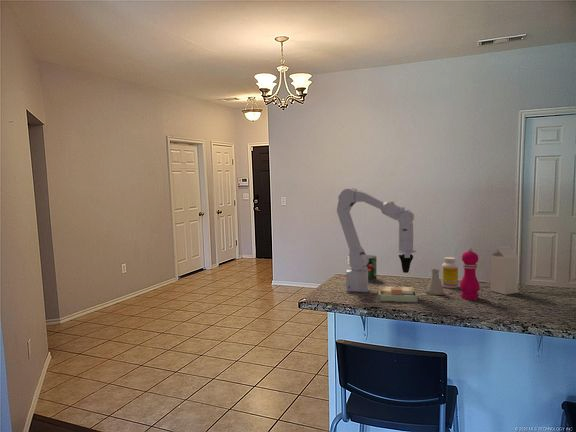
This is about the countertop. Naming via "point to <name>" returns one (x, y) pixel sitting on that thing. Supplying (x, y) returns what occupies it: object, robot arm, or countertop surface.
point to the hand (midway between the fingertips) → (405, 272)
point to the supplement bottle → (449, 273)
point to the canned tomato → (372, 268)
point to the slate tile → (407, 292)
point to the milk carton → (504, 271)
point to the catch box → (399, 298)
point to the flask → (435, 284)
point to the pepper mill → (469, 276)
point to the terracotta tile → (396, 291)
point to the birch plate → (387, 290)
